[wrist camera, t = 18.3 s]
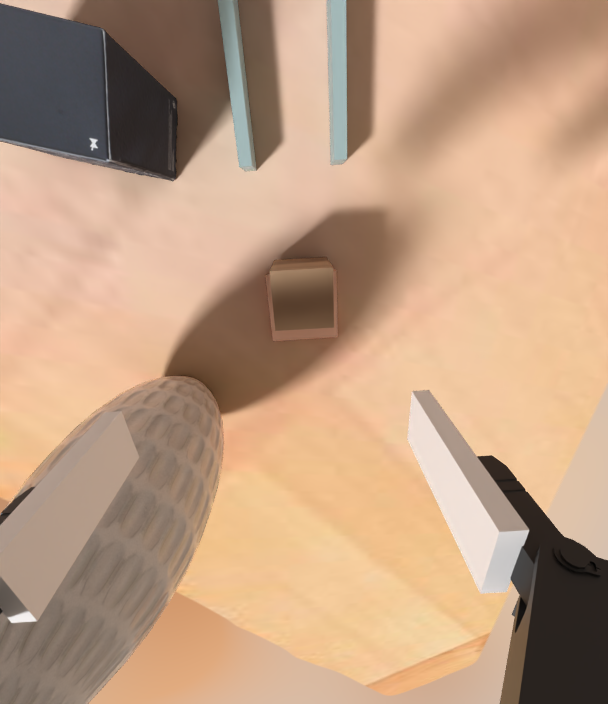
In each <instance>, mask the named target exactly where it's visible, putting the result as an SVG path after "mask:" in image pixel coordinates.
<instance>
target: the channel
mask: <svg viewBox="0 0 608 704" xmlns="http://www.w3.org/2000/svg"><path fill="white" fill-rule="evenodd" d="M218 7H219V15H220V23H221V30H222V38H223V46H224V53H225V61H226V68H227V76H228V84H229V91H230V99H231V107H232V114H233V122H234V129H235V137H236V145H237V152H238V160H239V167H240V168H242V169H243V170H244V171H255V170H257V169H256V160H255V151H254V142H253V133H252V124H251V115H250V106H249V98H248V89H247V80H246V71H245V62H244V53H243V44H242V35H241V26H240V17H239V8H238V0H218ZM327 35H328V75H329V115H330V155H331V165H338V164H343V163H344V162H345V161H346V160H347V48H346V0H327Z"/></svg>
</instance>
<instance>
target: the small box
mask: <svg viewBox="0 0 608 704" xmlns="http://www.w3.org/2000/svg"><path fill="white" fill-rule="evenodd" d="M177 124H178V123H177V100H176V98H175V97H174V96H173V95H172V94H171V93H170V92H169V91H167V90H166V89H165V88H164V87H163V86H162V85H161V84H160V83H159V82H158V81H157V80H156V79H155V78H153V77H152V76H151V75H150V74H149V73H148V72H147V71H146V70H145V69H144V68H143V67H142V66H141V65H140V64H139V63H138V62H137V61H136V60H135V59H134V58H132V57H131V56H130V55H129V54H128V53H127V52H126V51H125V50H124V49H123V48H122V47H121V46H120V45H119V44H118V43H116V42H115V41H114V39H112V38H111V37H110V36H109V35H108V33H107V32H106V31H105V30H104V29H102V28H100V27H96V26H92V25H87V24H84V23H80V22H75V21H71V20H67V19H63V18H58V17H54V16H50V15H46V14H42V13H38V12H34V11H30V10H25V9H21V8H17V7H13V6H9V5H5V4H1V3H0V141H1V142H5V143H9V144H13V145H17V146H21V147H25V148H29V149H33V150H36V151H40V152H44V153H47V154H50V155H54V156H59V157H63V158H67V159H72V160H76V161H81V162H86V163H90V164H93V165H99V166H104V167H109V168H113V169H118V170H122V171H125V172H130V173H136V174H139V175H146V176H150V177H156V178H162V179H167V180H171V181H174V180H175V179H176V138H177V136H176V130H177V129H176V127H177Z"/></svg>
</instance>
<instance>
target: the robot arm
mask: <svg viewBox="0 0 608 704" xmlns="http://www.w3.org/2000/svg"><path fill="white" fill-rule="evenodd" d="M407 440H408V442H409V444H410V446H411V448H412V450H413V452H414V454H415V456H416V459H417V461H418V463H419V465H420V467H421V469H422V471H423V473H424V475H425V478H426V480H427V482H428V484H429V486H430V488H431V490H432V492H433V494H434V497H435V499H436V501H437V503H438V505H439V507H440V509H441V511H442V513H443V516H444V518H445V520H446V522H447V524H448V526H449V528H450V530H451V532H452V535H453V537H454V539H455V541H456V543H457V545H458V547H459V549H460V551H461V554H462V556H463V558H464V560H465V562H466V564H467V566H468V568H469V570H470V573H471V575H472V577H473V579H474V581H475V583H476V585H477V587H478V589H479V592H480V593H496V592H507V589H508V587H509V584H510V581H511V580H512V582H513V584H514V586H515V587H516V589H517V591H518V593H519V594H520V596H519V598H518V601H517V603H516V605H515V608H514V610H513V613H512V615H513V616H515V619H514V625H513V630H512V637H511V642H510V648H509V654H508V659H507V665H506V671H505V677H504V683H503V689H502V695H501V701H500V704H608V560H604V559H601V558H598V557H596V556H595V555H594V554H593V553H592V552H590V551H589V550H588V549H587V548H586V547H584V546H583V545H581V544H579V543H577V542H576V541H574V540H571V539H569V538H566V537H564V536H563V535H562V534H561V533H560V532H559V531H558V529H557V528H556V527H555V526H554V524H553V523H552V522H551V521H550V519H549V518H548V517H547V516H546V515H545V513H544V512H543V511H542V510H541V508H540V507H539V506H538V505H537V503H536V502H535V501H534V500H533V498H532V497H531V496H530V495H529V493H528V492H526V491H525V488H524V487H523V486H522V485H521V483H520V482H519V481H517V478H516V477H515V476H514V475H513V474H512V472H511V471H510V470H509V469H508V467H507V466H506V465H504V464H503V463H502V462H500V461H499V460H497V459H496V458H495V457H493V456H478V457H477V456H476V455H475V453H474V452H473V451H472V449H471V448H470V446H469V445H468V444H467V442H466V441H465V439H464V438H463V437H462V435H461V434H460V432H459V431H458V430H457V428H456V427H455V425H454V424H453V423H452V421H451V420H450V418H449V417H448V416H447V414H446V413H445V411H444V410H443V409H442V407H441V406H440V405H439V403H438V402H437V400H436V399H435V398H434V396H433V395H432V393H431V392H430V391H429V390H423V391H412V397H411V407H410V418H409V428H408V438H407ZM138 459H139V455H138V453H137V450H136V447H135V445H134V442H133V440H132V437H131V434H130V432H129V429H128V427H127V424H126V422H125V419H124V416H123V414H122V411H117V412H104V414H103V415H102V416H101V417H100V418H99V419H98V420H97V421H96V422H95V423H94V424H93V425H92V427H91V428H90V429H89V430H88V431H87V432H86V433H85V434H84V435H83V436H82V437H81V438H80V440H79V441H78V442H77V443H76V444H75V445H74V446H73V447H72V448H71V449H70V450H69V451H68V453H67V454H66V455H65V456H64V457H63V458H62V459H61V460H60V461H59V462H58V463H57V464H56V465H55V467H54V468H53V469H52V470H51V471H50V472H49V473H48V474H47V475H46V476H45V477H44V478H43V480H42V481H41V482H40V483H39V484H38V485H37V486H36V487H31V488H29V489H28V490H26V491H25V492H24V493H22V494H21V495H20V496H18V497H17V498H15V499H14V500H13V501H12V502H11V503H10V504H9V505H8V506H7V507H6V508H5V509H4V510H3V512H2V513H1V515H0V614H1V613H2V612H3V614H4V615H5V616H6V617H7V618H8V619H9V620H10V621H11V623H18V622H34V621H38V619H39V618H40V616H41V615H42V613H43V611H44V610H45V608H46V607H47V605H48V603H49V602H50V600H51V598H52V597H53V595H54V594H55V592H56V590H57V589H58V587H59V586H60V584H61V582H62V581H63V579H64V578H65V576H66V574H67V573H68V571H69V570H70V568H71V566H72V565H73V563H74V562H75V560H76V558H77V557H78V555H79V553H80V552H81V550H82V549H83V547H84V545H85V544H86V542H87V541H88V539H89V537H90V536H91V534H92V533H93V531H94V529H95V528H96V526H97V525H98V523H99V521H100V520H101V518H102V517H103V515H104V513H105V512H106V510H107V509H108V507H109V505H110V504H111V502H112V500H113V499H114V497H115V496H116V494H117V492H118V491H119V489H120V488H121V486H122V484H123V483H124V481H125V480H126V478H127V476H128V475H129V473H130V472H131V470H132V468H133V467H134V465H135V464H136V462H137V460H138Z"/></svg>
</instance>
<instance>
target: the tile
mask: <svg viewBox="0 0 608 704" xmlns="http://www.w3.org/2000/svg"><path fill="white" fill-rule="evenodd" d="M265 279H266V287H267V296H268V304H269V313H270V322H271V330H272V339H273V341H287V340H302V339H317V338H331V337H338V315H337V271H336V270H333V295H334V328H317V329H300V330H283V331H275V323H274V312H273V302H272V292H271V282H270V274H266V275H265Z"/></svg>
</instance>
